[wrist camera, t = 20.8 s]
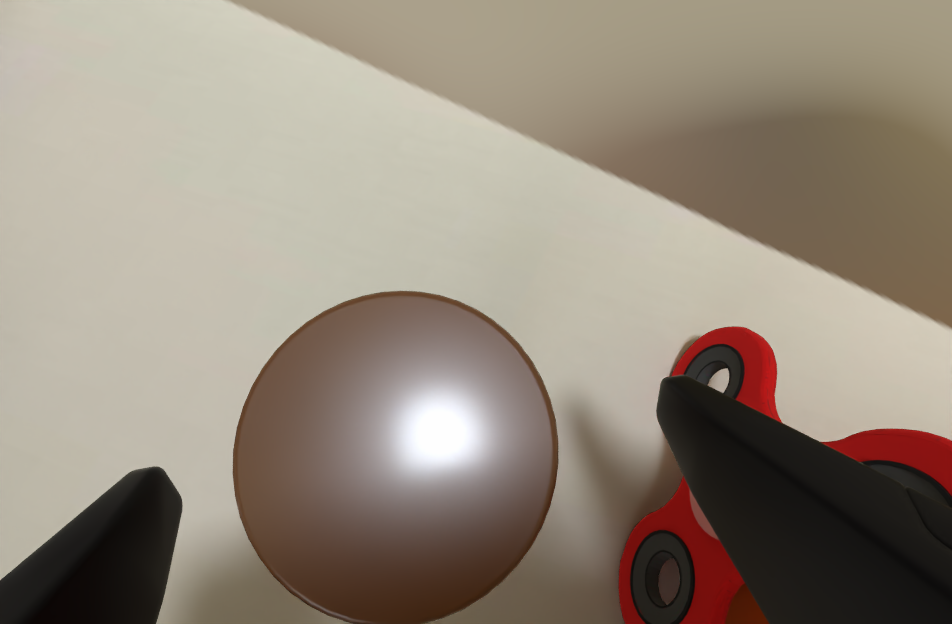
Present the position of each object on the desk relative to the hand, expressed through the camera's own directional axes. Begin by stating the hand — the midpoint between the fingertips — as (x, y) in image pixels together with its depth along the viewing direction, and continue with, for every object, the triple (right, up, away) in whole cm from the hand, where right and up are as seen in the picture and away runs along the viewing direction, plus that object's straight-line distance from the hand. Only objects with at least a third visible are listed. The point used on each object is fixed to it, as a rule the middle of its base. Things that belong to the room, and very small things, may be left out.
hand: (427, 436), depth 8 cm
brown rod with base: (0, -2, +8) cm, 9 cm away
